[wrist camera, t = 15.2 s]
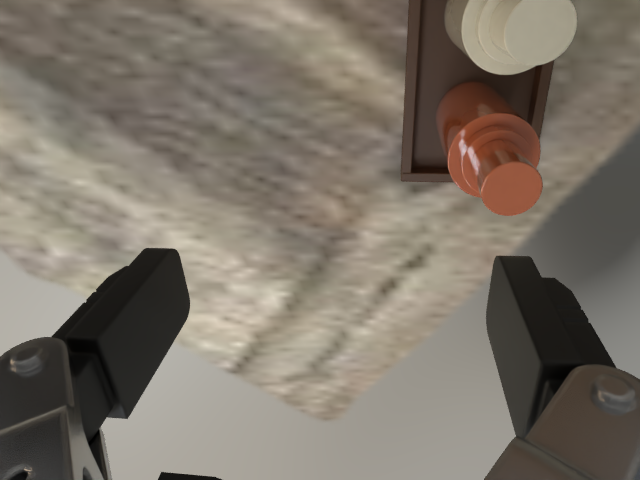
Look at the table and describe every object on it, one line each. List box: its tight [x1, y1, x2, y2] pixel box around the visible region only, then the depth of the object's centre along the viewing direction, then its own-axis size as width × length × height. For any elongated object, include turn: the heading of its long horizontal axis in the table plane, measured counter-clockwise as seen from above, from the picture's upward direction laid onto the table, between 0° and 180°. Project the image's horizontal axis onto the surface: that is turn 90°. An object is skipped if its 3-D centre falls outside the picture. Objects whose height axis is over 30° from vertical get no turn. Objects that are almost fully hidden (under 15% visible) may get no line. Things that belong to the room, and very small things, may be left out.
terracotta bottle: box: [435, 81, 543, 216], centre depth 31 cm, size 5×5×16 cm
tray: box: [401, 0, 554, 182], centre depth 34 cm, size 26×11×2 cm, turn 2°
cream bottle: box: [444, 0, 578, 75], centre depth 27 cm, size 5×5×16 cm
